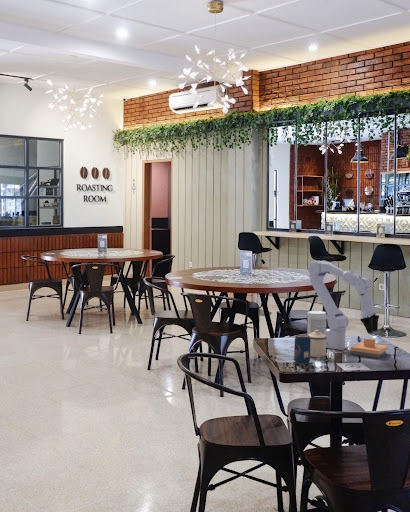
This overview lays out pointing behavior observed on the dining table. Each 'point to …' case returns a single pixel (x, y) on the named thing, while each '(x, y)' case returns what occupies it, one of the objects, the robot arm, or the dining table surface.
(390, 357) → the dining table surface
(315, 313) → the supplement tub
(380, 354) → the parts tub
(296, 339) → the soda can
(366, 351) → the lid
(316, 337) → the teacup with lid
